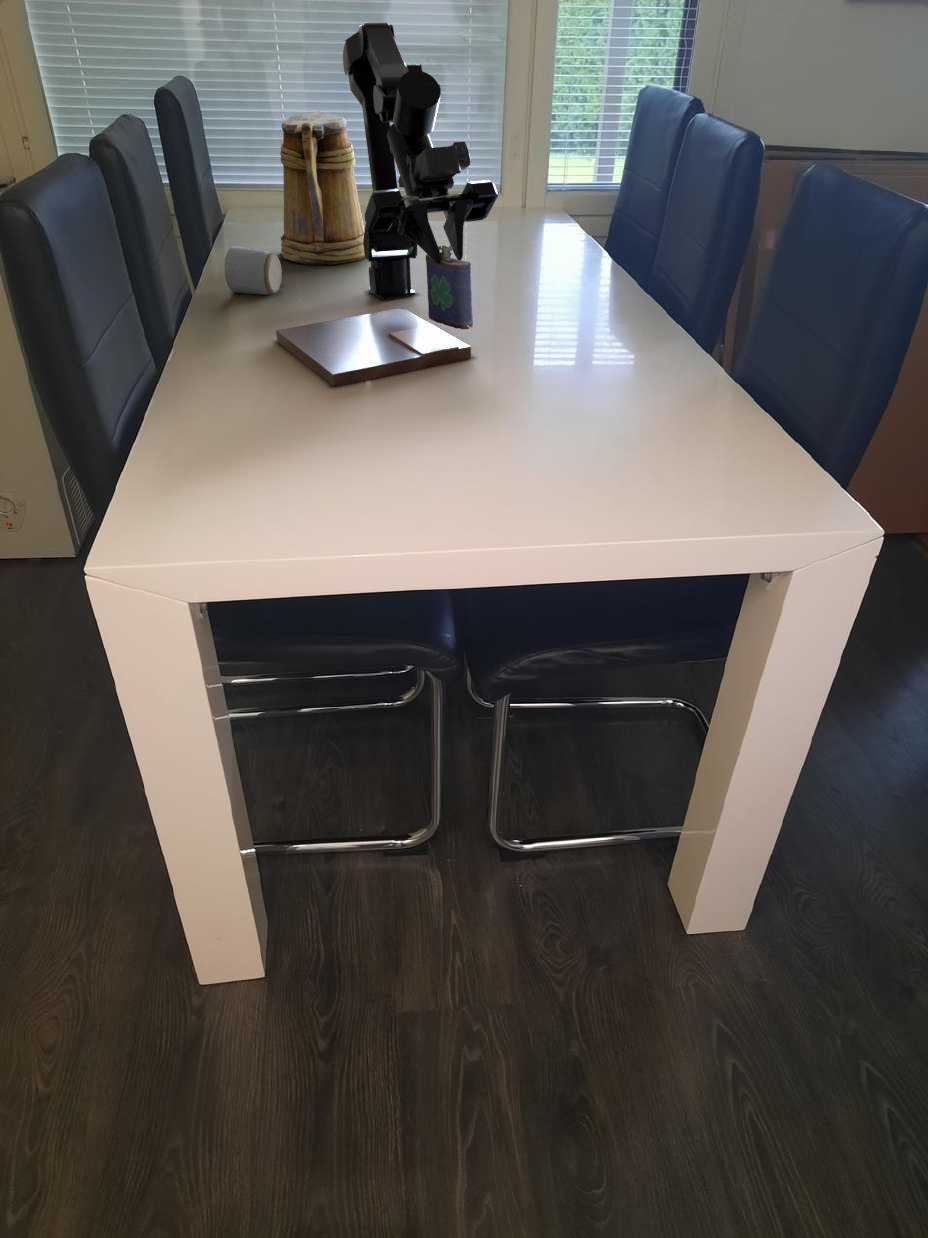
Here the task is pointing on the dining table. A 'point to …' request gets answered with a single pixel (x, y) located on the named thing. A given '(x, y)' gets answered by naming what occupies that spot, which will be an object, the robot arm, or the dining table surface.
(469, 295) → the flask
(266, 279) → the ceramic mug
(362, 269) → the dining table surface
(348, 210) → the tankard
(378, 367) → the serving board
